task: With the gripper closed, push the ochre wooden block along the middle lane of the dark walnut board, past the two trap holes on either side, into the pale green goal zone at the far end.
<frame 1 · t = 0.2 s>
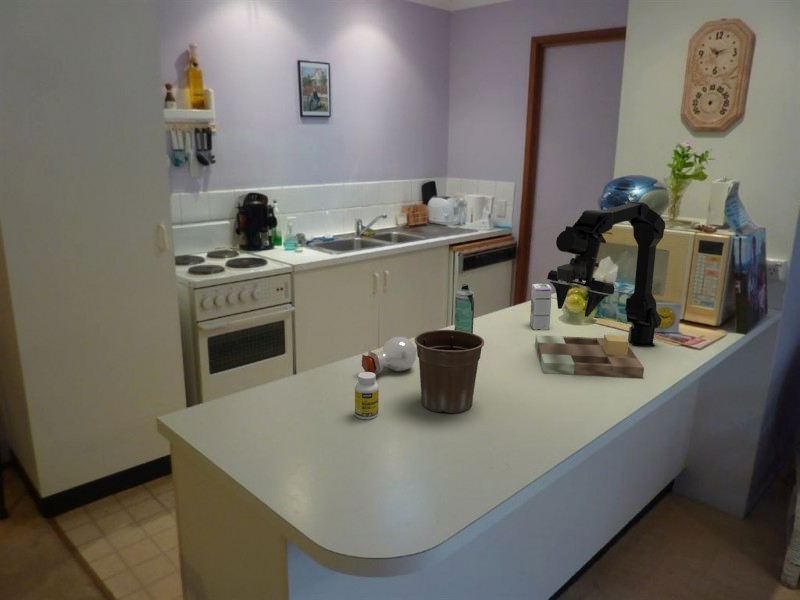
hand: (572, 312, 170), 15 cm above the worktop, tool pointing down, fingers open, 9 cm apart
potion bottle: (390, 373, 168), on the worktop
supplement bottle: (366, 415, 142), on the worktop
trap board: (585, 360, 178), on the worktop
ochre block: (614, 351, 176), point 3 cm above the worktop, touching trap board
syrup box: (539, 328, 208), on the worktop
plant pot: (447, 403, 149), on the worktop
spray can: (462, 350, 186), on the worktop
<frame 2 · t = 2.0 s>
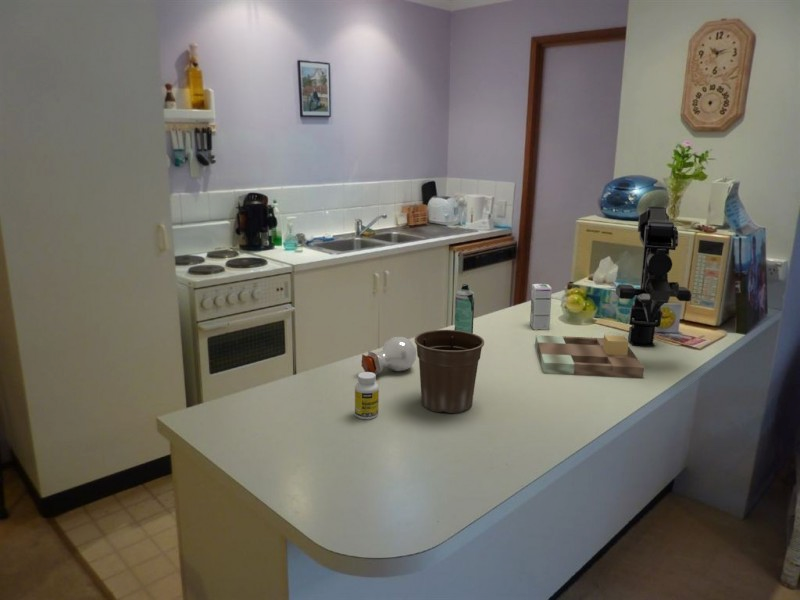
hand: (649, 322, 173), 12 cm above the worktop, tool pointing down, fingers closed
nothing on the worktop moved.
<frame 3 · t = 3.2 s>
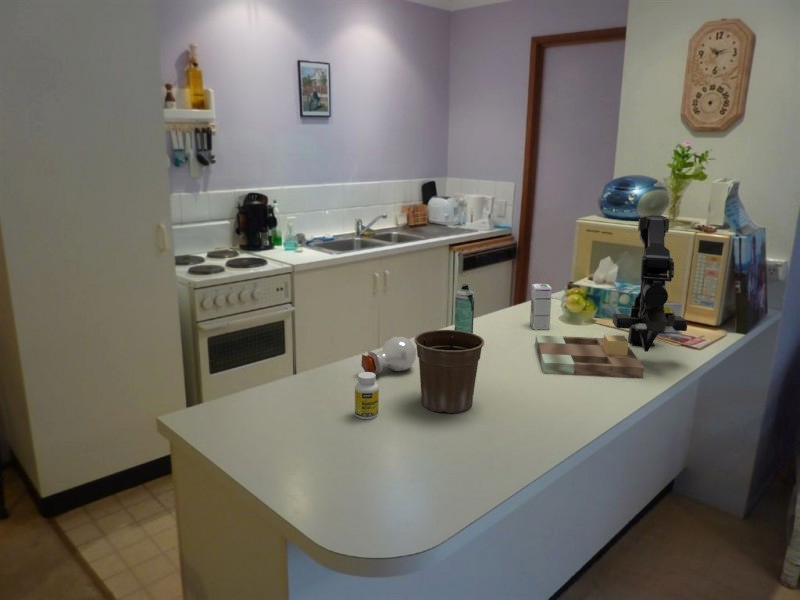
hand: (645, 351, 175), 4 cm above the worktop, tool pointing down, fingers closed
nothing on the worktop moved.
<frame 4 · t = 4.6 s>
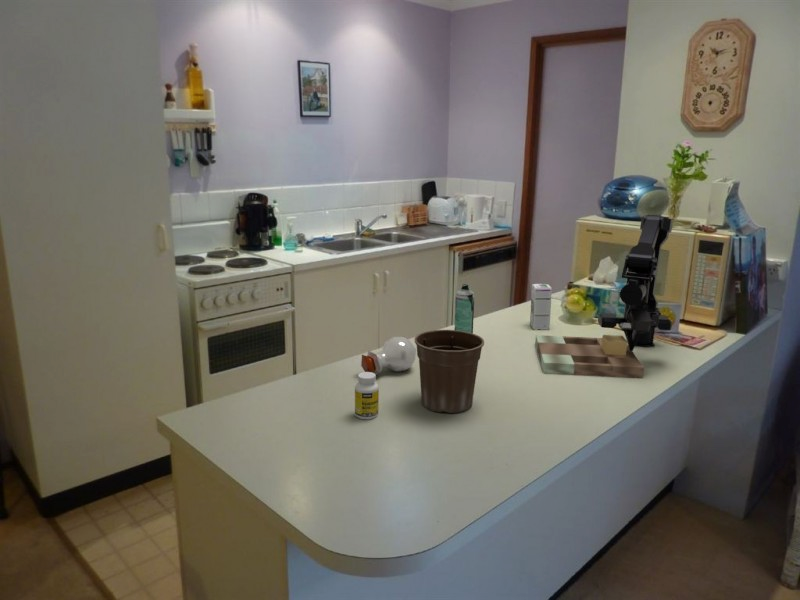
hand: (631, 350, 176), 4 cm above the worktop, tool pointing down, fingers closed
ochre block: (613, 351, 176), point 3 cm above the worktop, touching gripper, trap board
everything else where it was.
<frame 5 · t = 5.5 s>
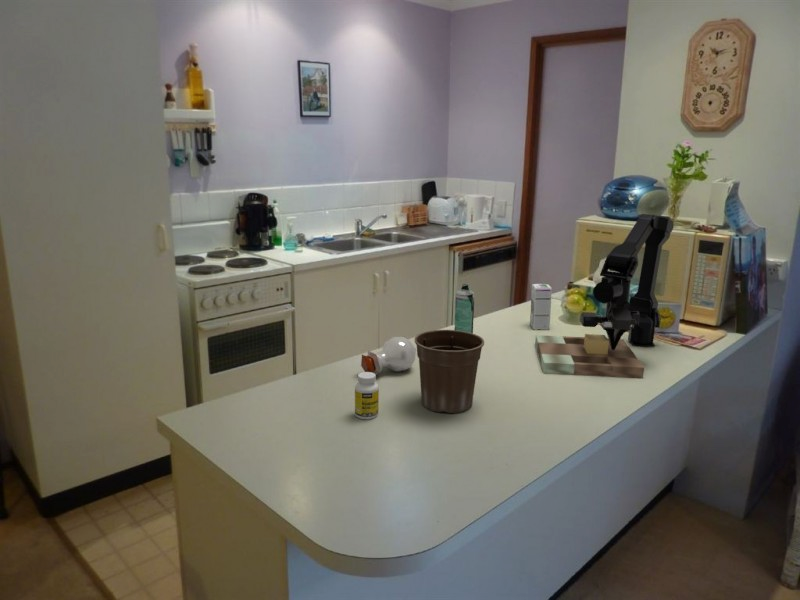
hand: (612, 349, 176), 4 cm above the worktop, tool pointing down, fingers closed
ochre block: (595, 350, 177), point 3 cm above the worktop, touching gripper
everything else where it was.
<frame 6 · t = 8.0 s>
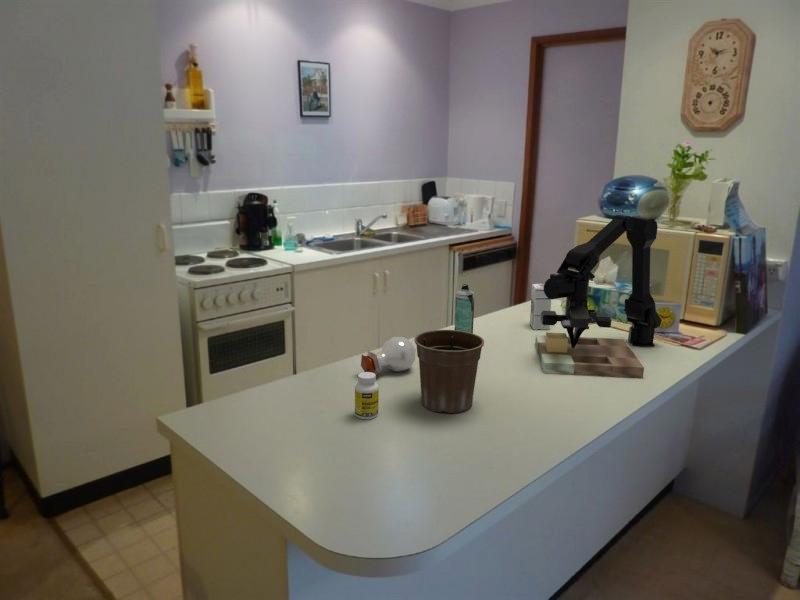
hand: (572, 347, 177), 4 cm above the worktop, tool pointing down, fingers closed
ochre block: (555, 348, 178), point 3 cm above the worktop, touching gripper, trap board
everything else where it was.
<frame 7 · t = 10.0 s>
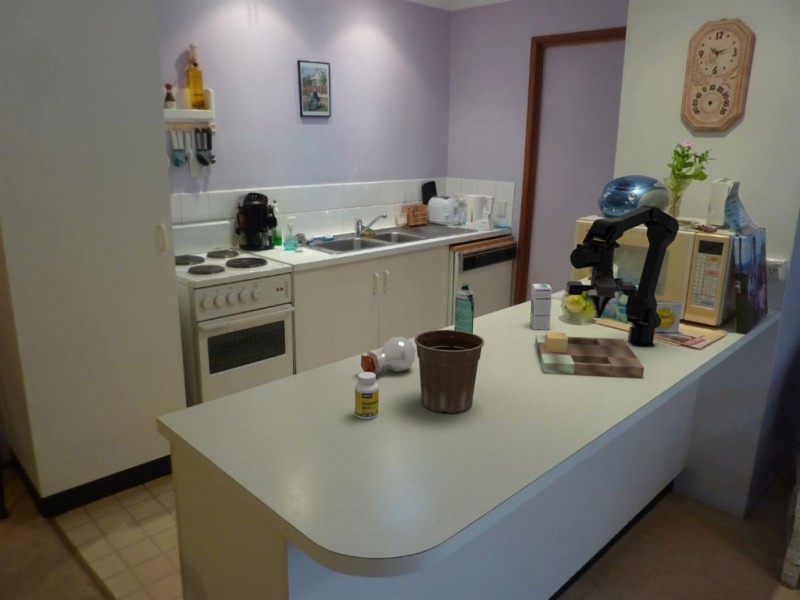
hand: (598, 317, 180), 11 cm above the worktop, tool pointing down, fingers closed
ochre block: (555, 348, 178), point 3 cm above the worktop, touching trap board
everything else where it was.
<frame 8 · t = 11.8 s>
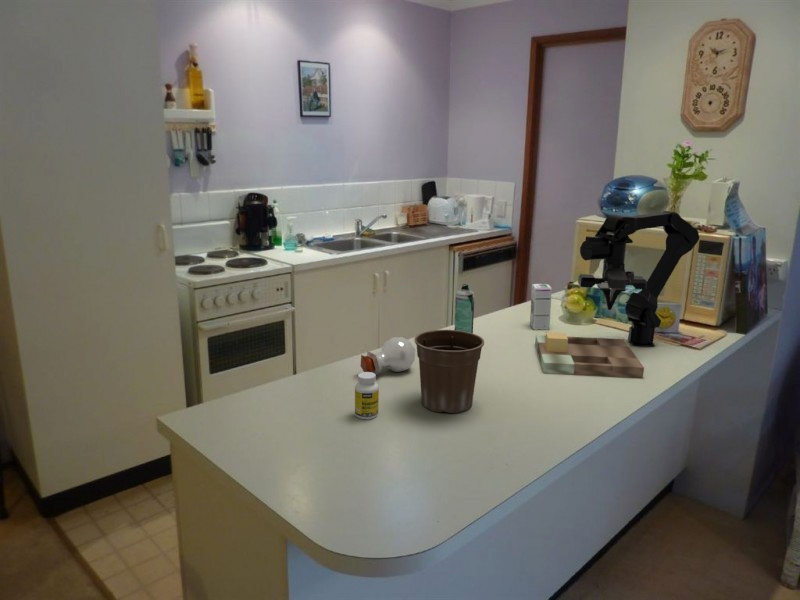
hand: (609, 309, 185), 12 cm above the worktop, tool pointing down, fingers closed
nothing on the worktop moved.
at the end: ochre block inside the target area (0.8 cm from its centre), point 3.0 cm above the worktop; ochre block tilted 0° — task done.
